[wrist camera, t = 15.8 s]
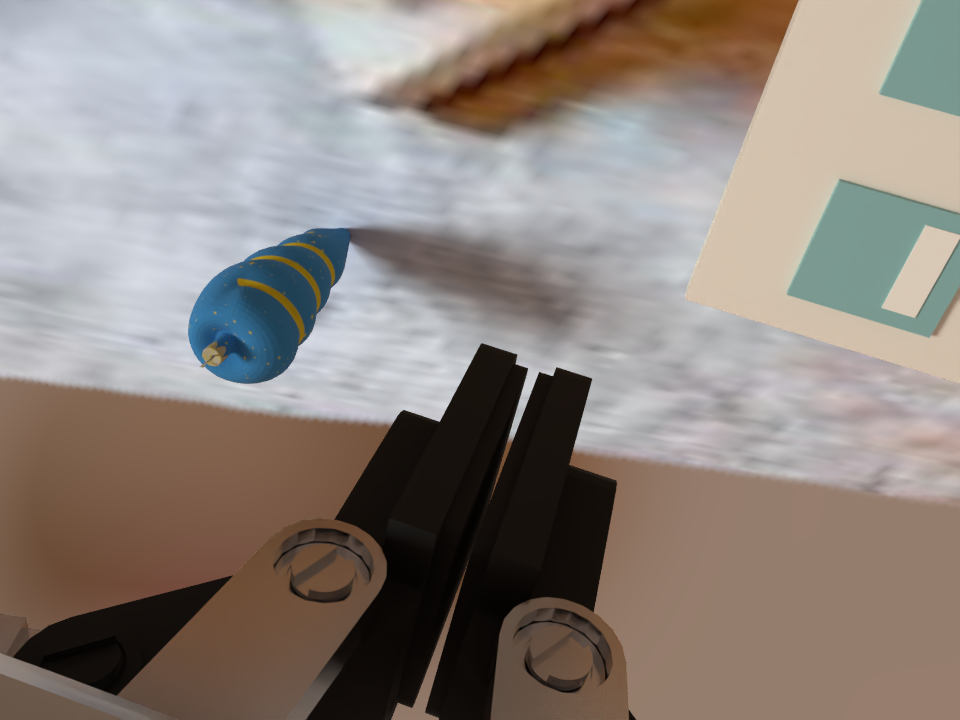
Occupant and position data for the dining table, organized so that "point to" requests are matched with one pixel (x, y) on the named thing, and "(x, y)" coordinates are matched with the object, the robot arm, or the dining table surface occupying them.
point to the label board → (850, 187)
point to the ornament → (266, 306)
